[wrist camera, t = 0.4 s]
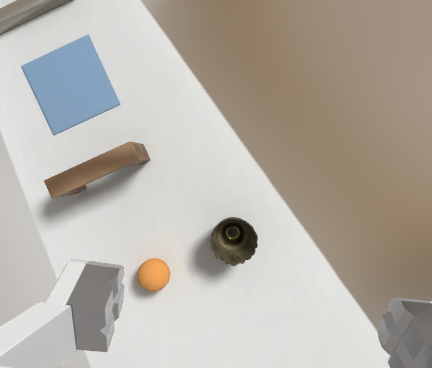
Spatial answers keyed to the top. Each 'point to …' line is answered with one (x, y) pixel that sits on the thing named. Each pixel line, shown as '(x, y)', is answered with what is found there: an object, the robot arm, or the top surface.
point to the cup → (234, 241)
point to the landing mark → (71, 84)
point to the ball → (153, 274)
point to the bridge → (96, 169)
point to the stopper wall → (25, 12)
